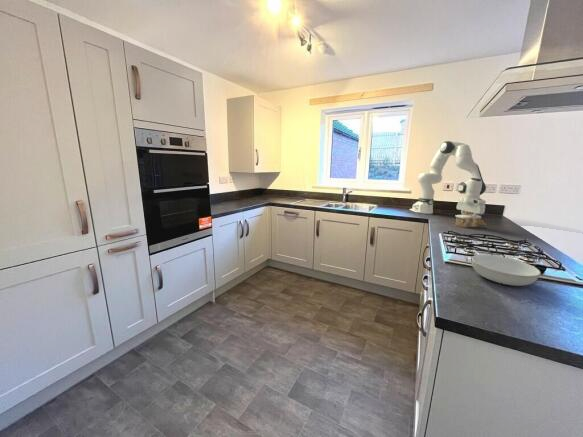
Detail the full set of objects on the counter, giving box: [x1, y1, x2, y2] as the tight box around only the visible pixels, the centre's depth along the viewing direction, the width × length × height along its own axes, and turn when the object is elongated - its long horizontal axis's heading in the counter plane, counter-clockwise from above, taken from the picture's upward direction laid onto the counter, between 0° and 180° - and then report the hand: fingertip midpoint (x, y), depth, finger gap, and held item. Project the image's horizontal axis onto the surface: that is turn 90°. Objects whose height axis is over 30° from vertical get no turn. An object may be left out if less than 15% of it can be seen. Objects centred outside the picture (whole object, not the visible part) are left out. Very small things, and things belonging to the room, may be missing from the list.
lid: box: [455, 214, 482, 219], centre depth 184 cm, size 17×7×2 cm, turn 103°
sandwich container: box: [464, 211, 487, 226], centre depth 194 cm, size 9×15×15 cm, turn 57°
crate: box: [454, 217, 480, 228], centre depth 185 cm, size 16×5×7 cm, turn 103°
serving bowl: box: [471, 254, 542, 287], centre depth 97 cm, size 21×21×7 cm
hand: (468, 217), depth 184 cm, fingers closed on lid, 7 cm apart
